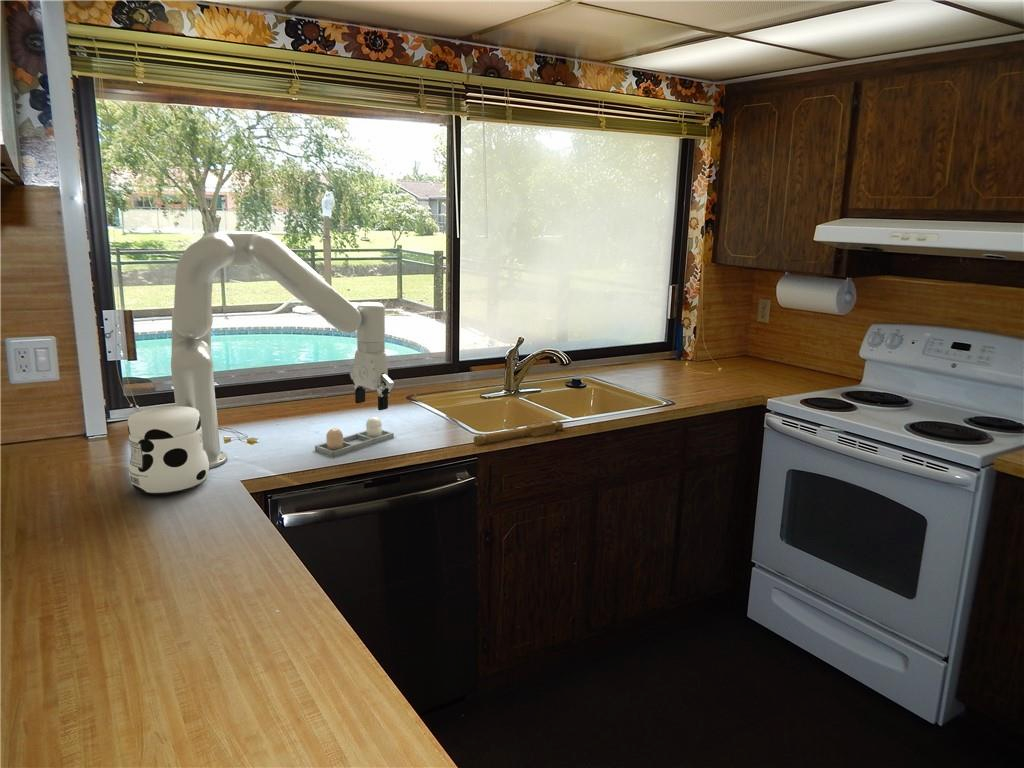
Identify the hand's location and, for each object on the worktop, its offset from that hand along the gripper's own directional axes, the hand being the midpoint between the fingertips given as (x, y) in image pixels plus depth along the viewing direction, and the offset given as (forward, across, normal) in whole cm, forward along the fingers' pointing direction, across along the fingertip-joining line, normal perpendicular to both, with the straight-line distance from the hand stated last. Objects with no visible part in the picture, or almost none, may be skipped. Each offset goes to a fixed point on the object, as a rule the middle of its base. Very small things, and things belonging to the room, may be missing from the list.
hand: (371, 406), depth 205 cm
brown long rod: (+10, +30, +32) cm, 44 cm away
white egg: (+10, 0, +1) cm, 10 cm away
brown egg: (+10, 0, -13) cm, 17 cm away
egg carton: (+11, 0, -6) cm, 12 cm away
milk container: (+12, -11, -53) cm, 56 cm away
